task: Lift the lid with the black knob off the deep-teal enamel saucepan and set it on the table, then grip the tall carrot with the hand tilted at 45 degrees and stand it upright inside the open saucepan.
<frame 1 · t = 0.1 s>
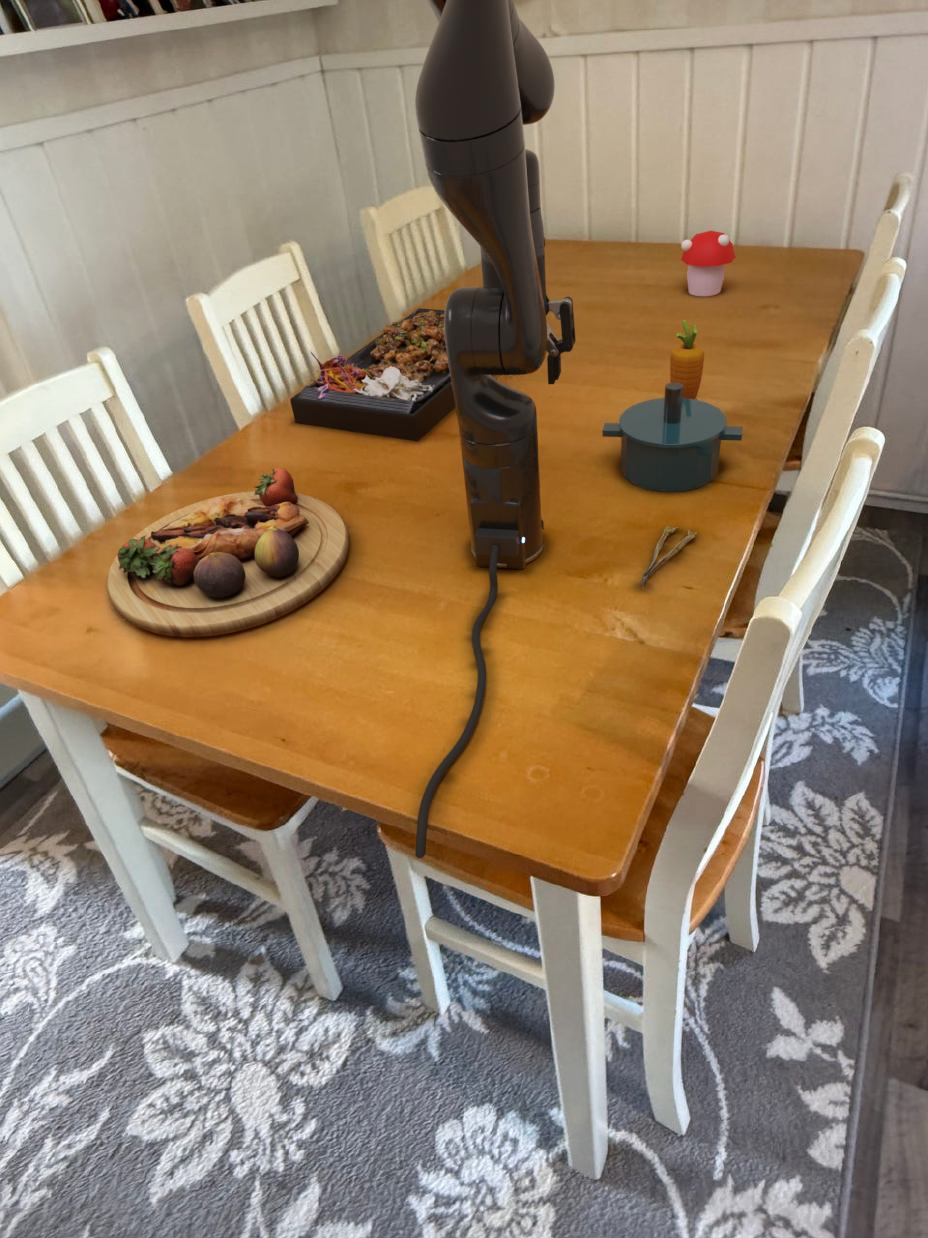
hand: (519, 381, 110), 17 cm above the table, tool pointing down, fingers open, 8 cm apart
carrot: (683, 417, 136), on the table
saucepan: (669, 468, 123), on the table
mushroom: (704, 291, 180), on the table
food platter: (419, 379, 158), on the table
tongs: (666, 561, 106), on the table
wooden plate: (233, 566, 115), on the table
pan lid: (671, 423, 119), point 7 cm above the table, touching saucepan
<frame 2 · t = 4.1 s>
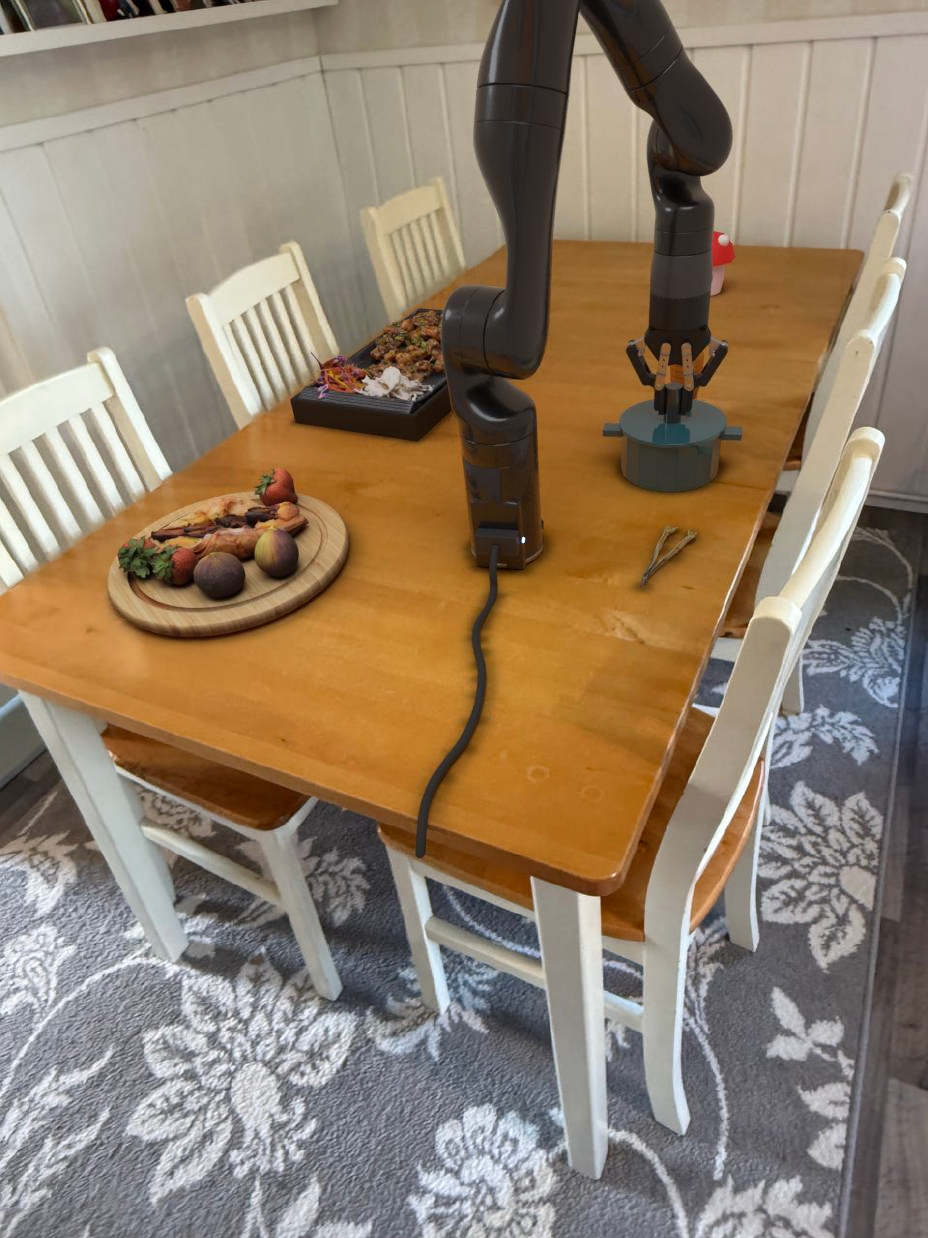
hand: (672, 412, 118), 9 cm above the table, tool pointing down, fingers closed on pan lid, 2 cm apart
pan lid: (671, 423, 119), point 7 cm above the table, touching gripper, saucepan
everything else where it was.
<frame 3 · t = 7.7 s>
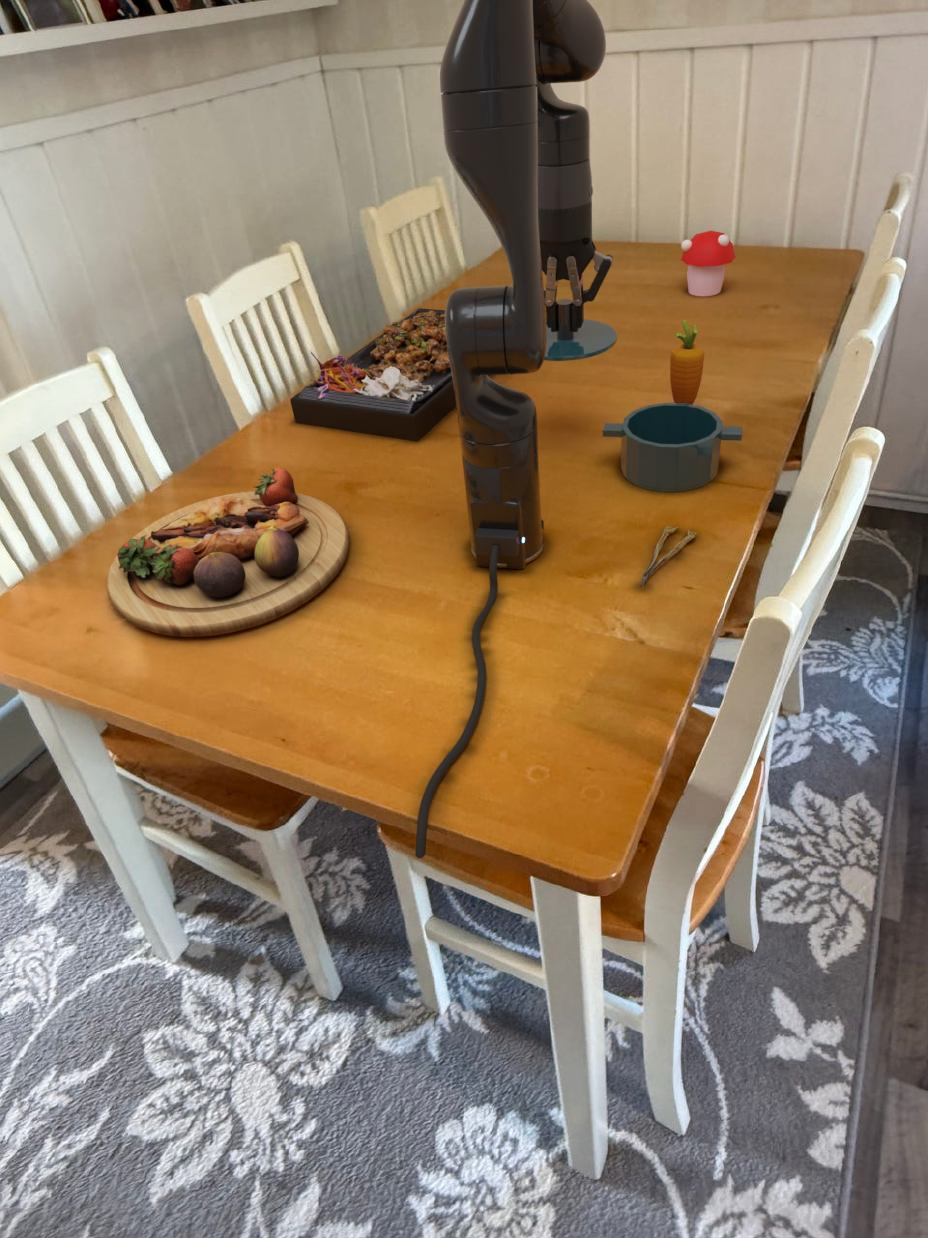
hand: (565, 329, 122), 18 cm above the table, tool pointing down, fingers closed on pan lid, 2 cm apart
pan lid: (565, 340, 123), point 16 cm above the table, touching gripper
everything else where it was.
when the fingers open (2 cm above the table, at t = 11.2 s): pan lid stays where it is, point 1 cm above the table.
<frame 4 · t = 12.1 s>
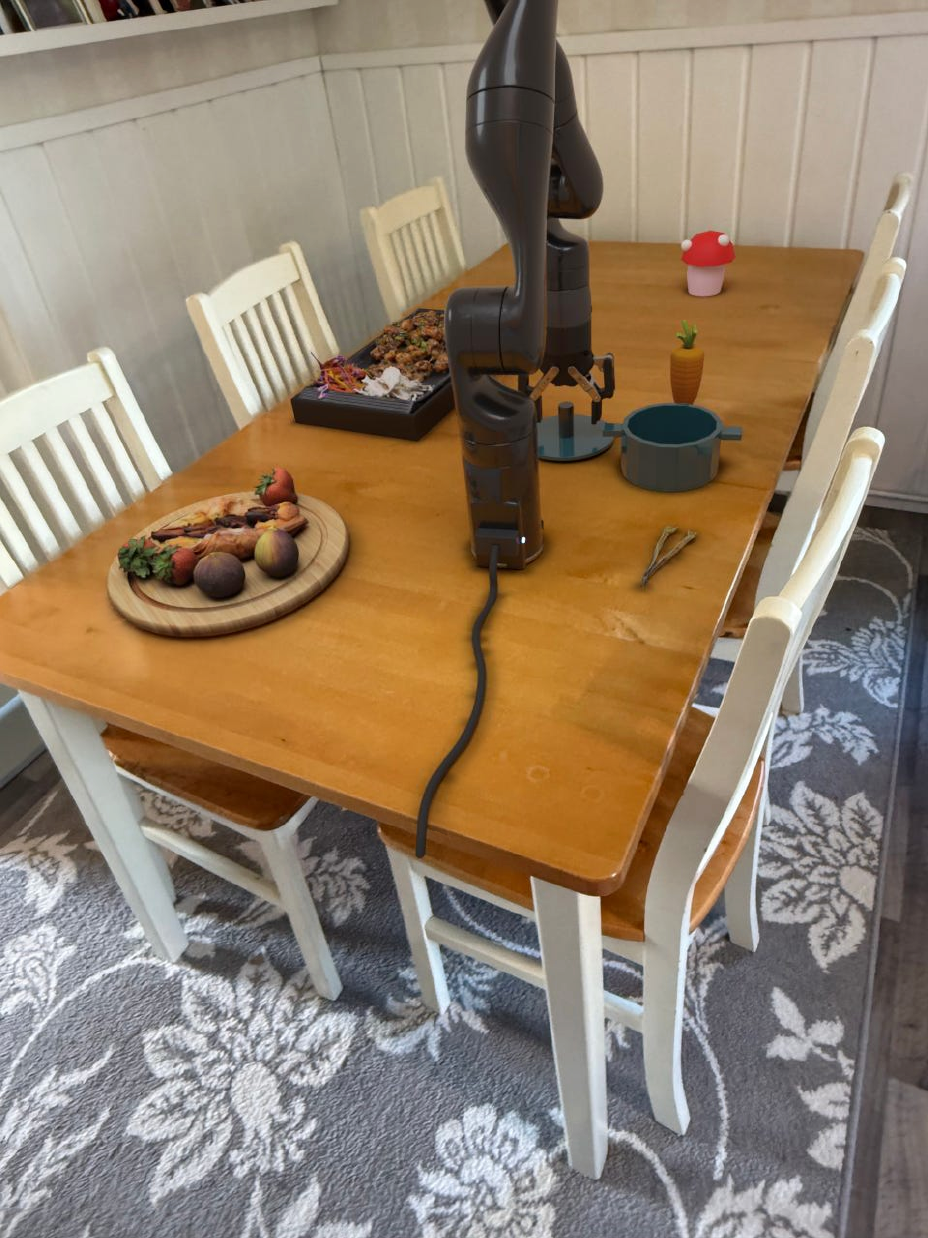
hand: (566, 421, 130), 4 cm above the table, tool pointing down, fingers open, 8 cm apart
pan lid: (566, 438, 132), point 1 cm above the table
everything else where it was.
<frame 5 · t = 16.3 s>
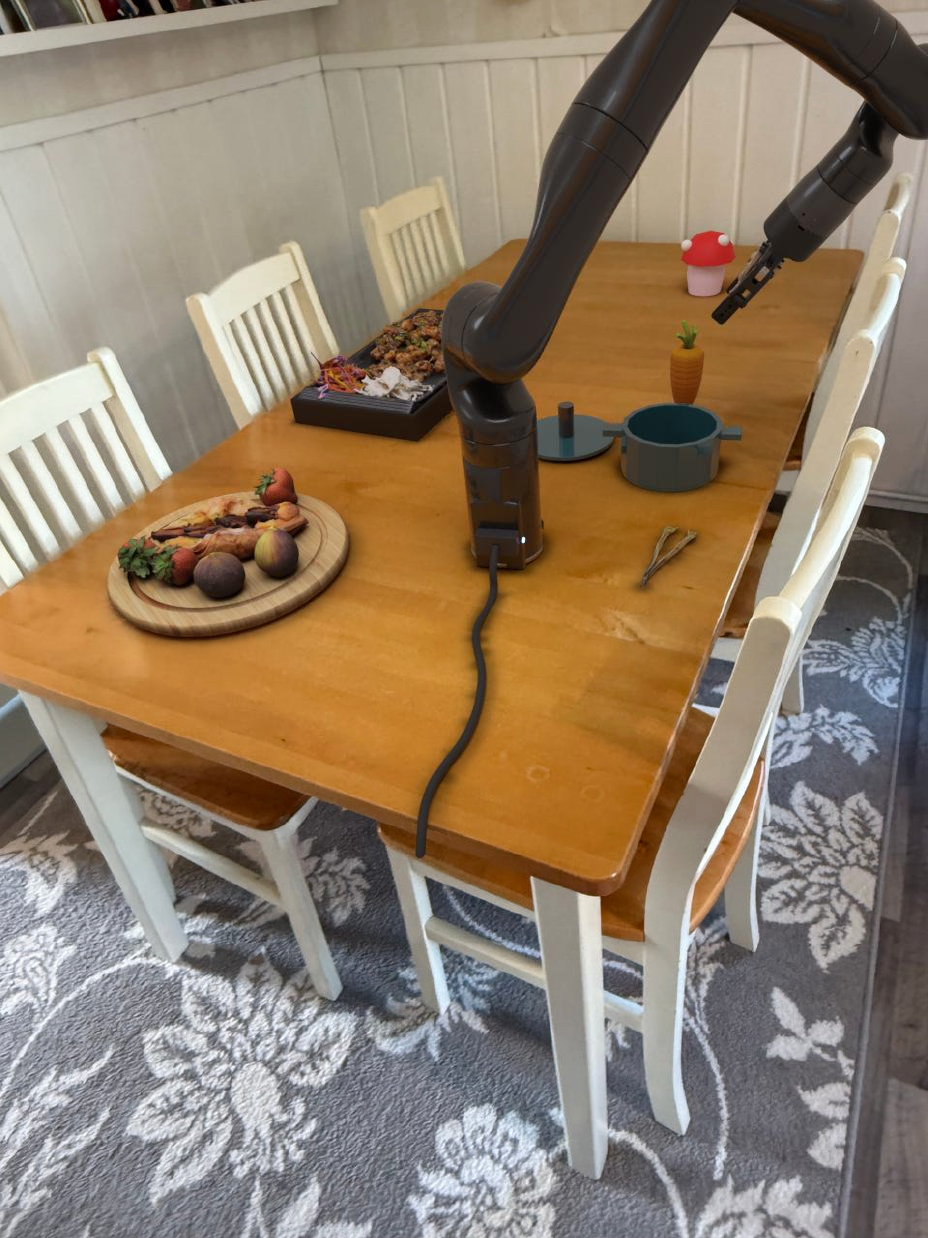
hand: (723, 307, 121), 18 cm above the table, tool tilted 40°, fingers open, 8 cm apart
nothing on the table moved.
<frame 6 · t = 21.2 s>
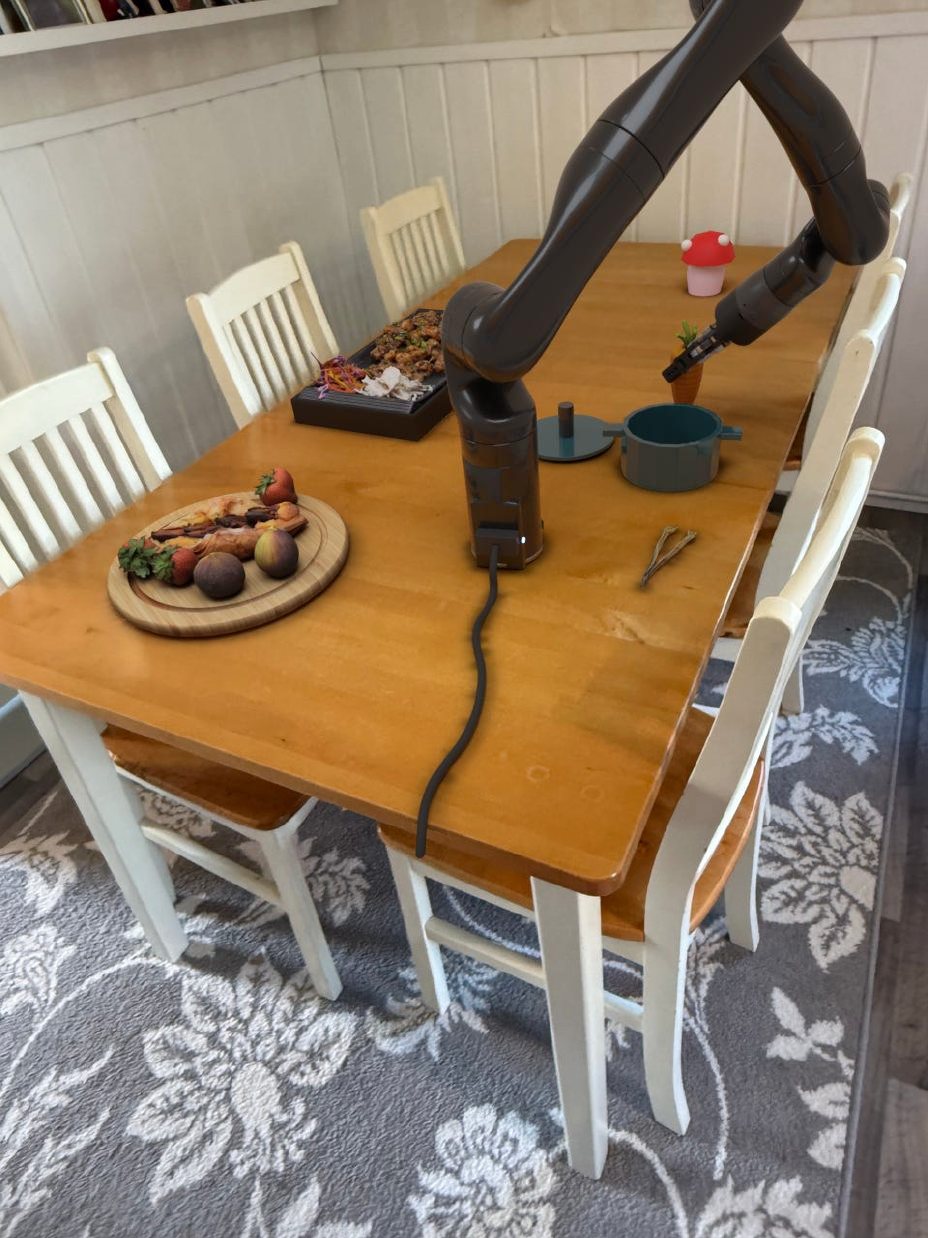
hand: (675, 371, 132), 7 cm above the table, tool tilted 45°, fingers closed on carrot, 4 cm apart
carrot: (683, 417, 136), on the table, touching gripper
everything else where it was.
when the fingers open (8 cm above the table, at t = 30.3 s): carrot stays where it is, resting on saucepan.
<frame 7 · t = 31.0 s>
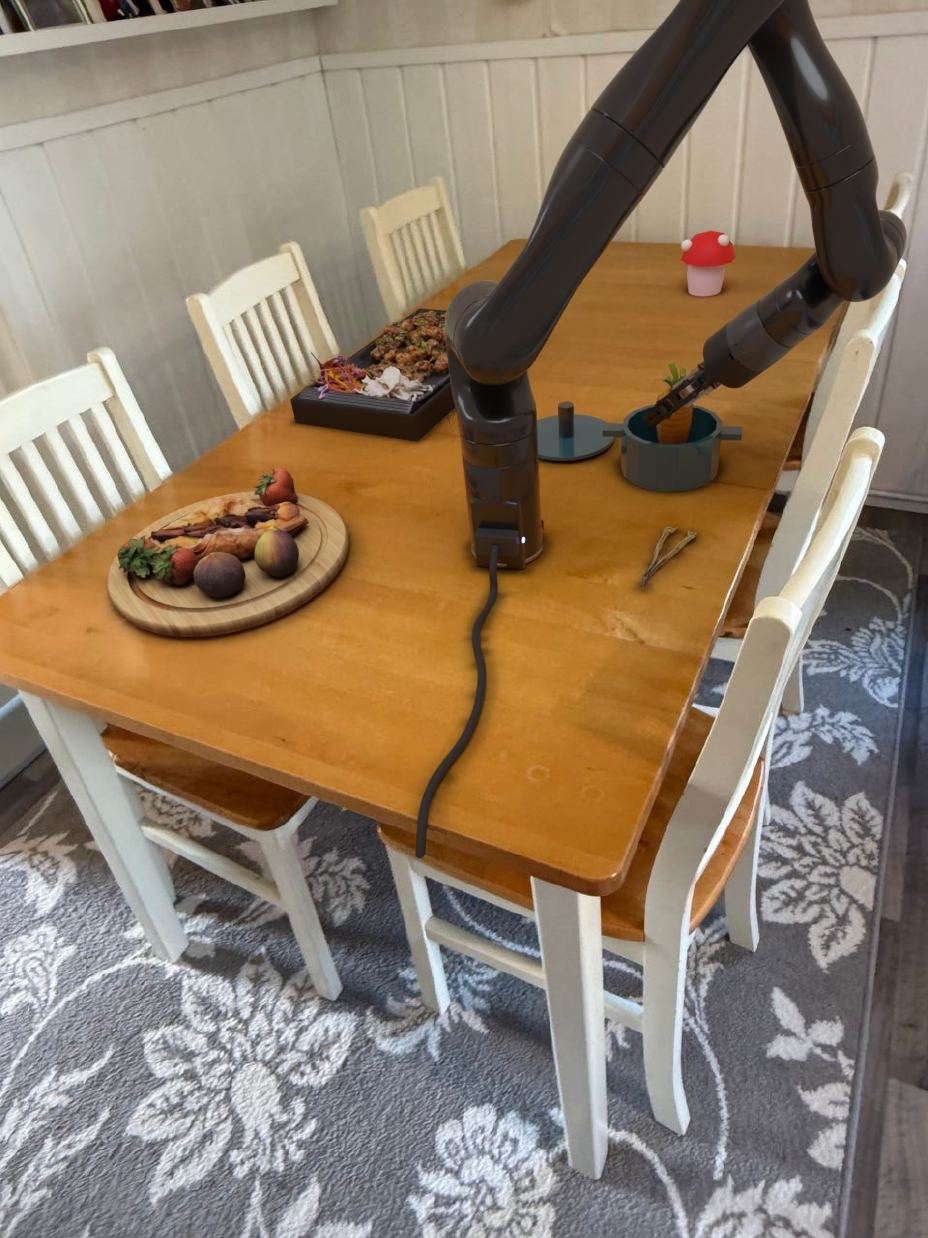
hand: (663, 409, 119), 9 cm above the table, tool tilted 45°, fingers open, 8 cm apart
carrot: (670, 466, 123), resting on saucepan
everything else where it was.
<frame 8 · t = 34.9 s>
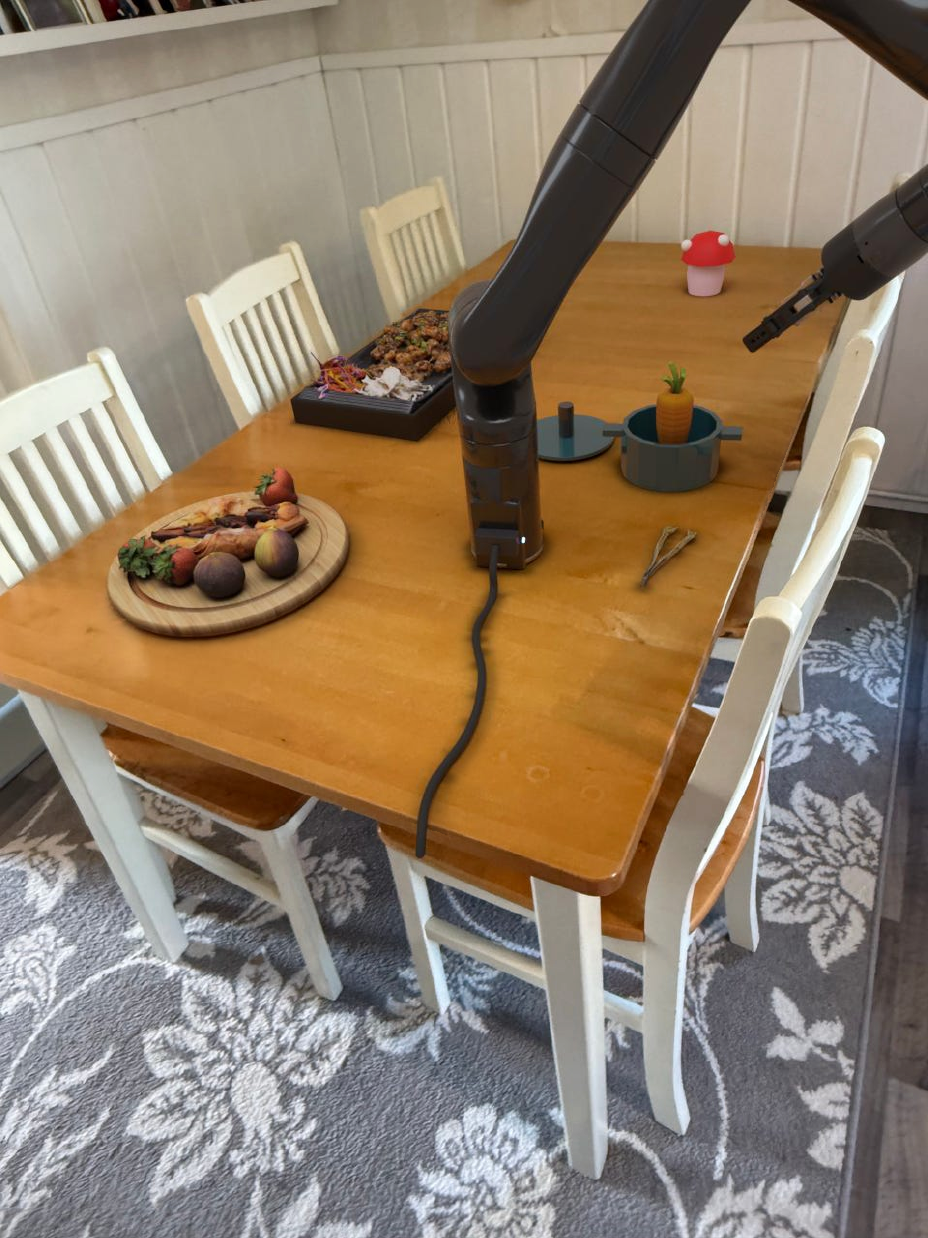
hand: (763, 333, 104), 22 cm above the table, tool tilted 45°, fingers open, 8 cm apart
nothing on the table moved.
at the end: pan lid inside the target area (0.2 cm from its centre), point 0.6 cm above the table; carrot inside the target area in the saucepan (0.2 cm from its centre), point 0.3 cm above the saucepan's base; carrot tilted 0° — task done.
